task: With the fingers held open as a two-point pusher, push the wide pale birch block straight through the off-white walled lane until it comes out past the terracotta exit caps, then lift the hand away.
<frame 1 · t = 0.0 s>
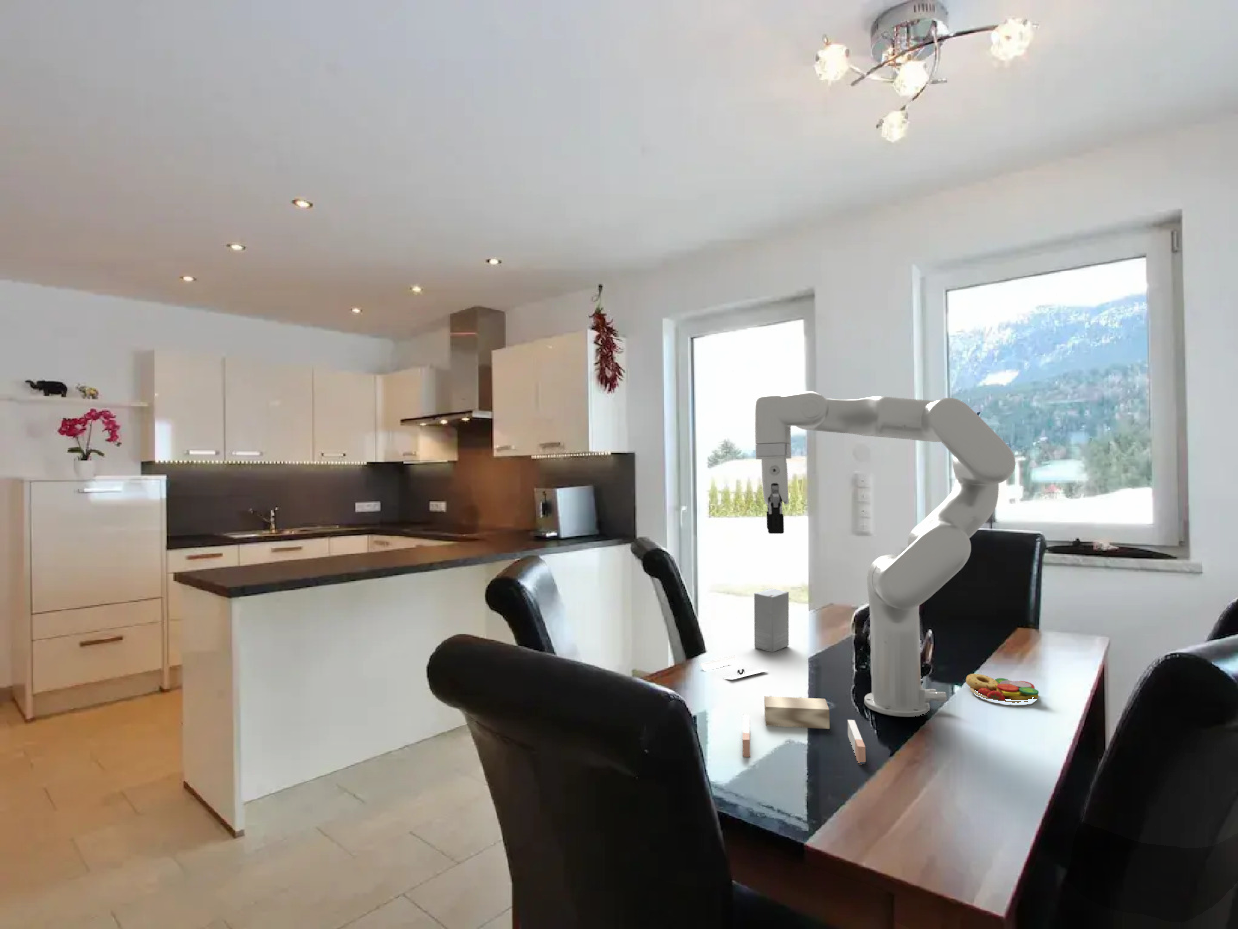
hand: (775, 531, 142), 37 cm above the table, fingers open, 9 cm apart
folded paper: (734, 674, 164), on the table
toy food set: (1004, 698, 142), on the table
walled lane: (800, 746, 119), on the table
skincare box: (772, 648, 184), on the table
birch block: (796, 723, 131), on the table
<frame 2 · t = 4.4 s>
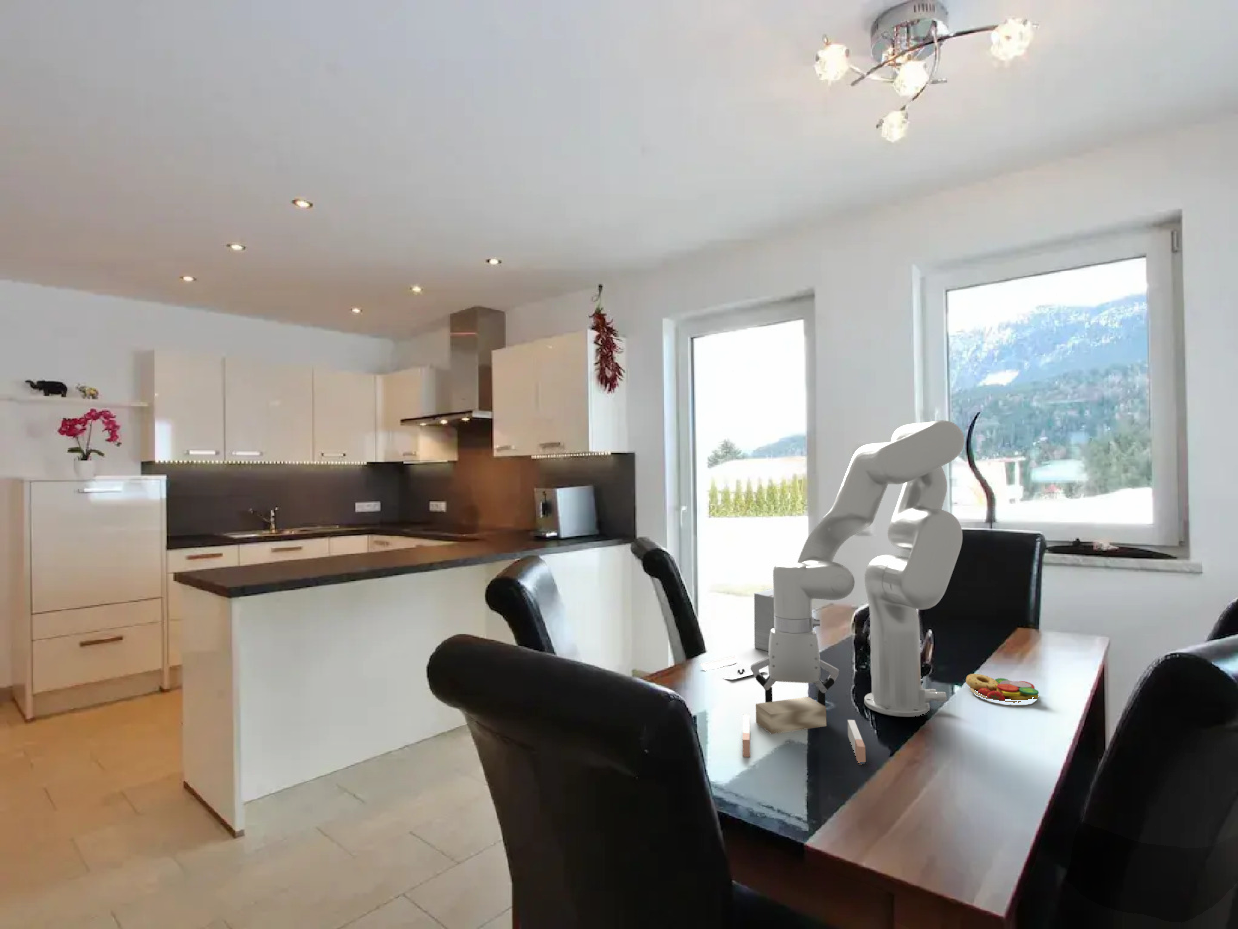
hand: (795, 709, 133), 2 cm above the table, fingers open, 9 cm apart
birch block: (790, 725, 129), on the table
everything else where it was.
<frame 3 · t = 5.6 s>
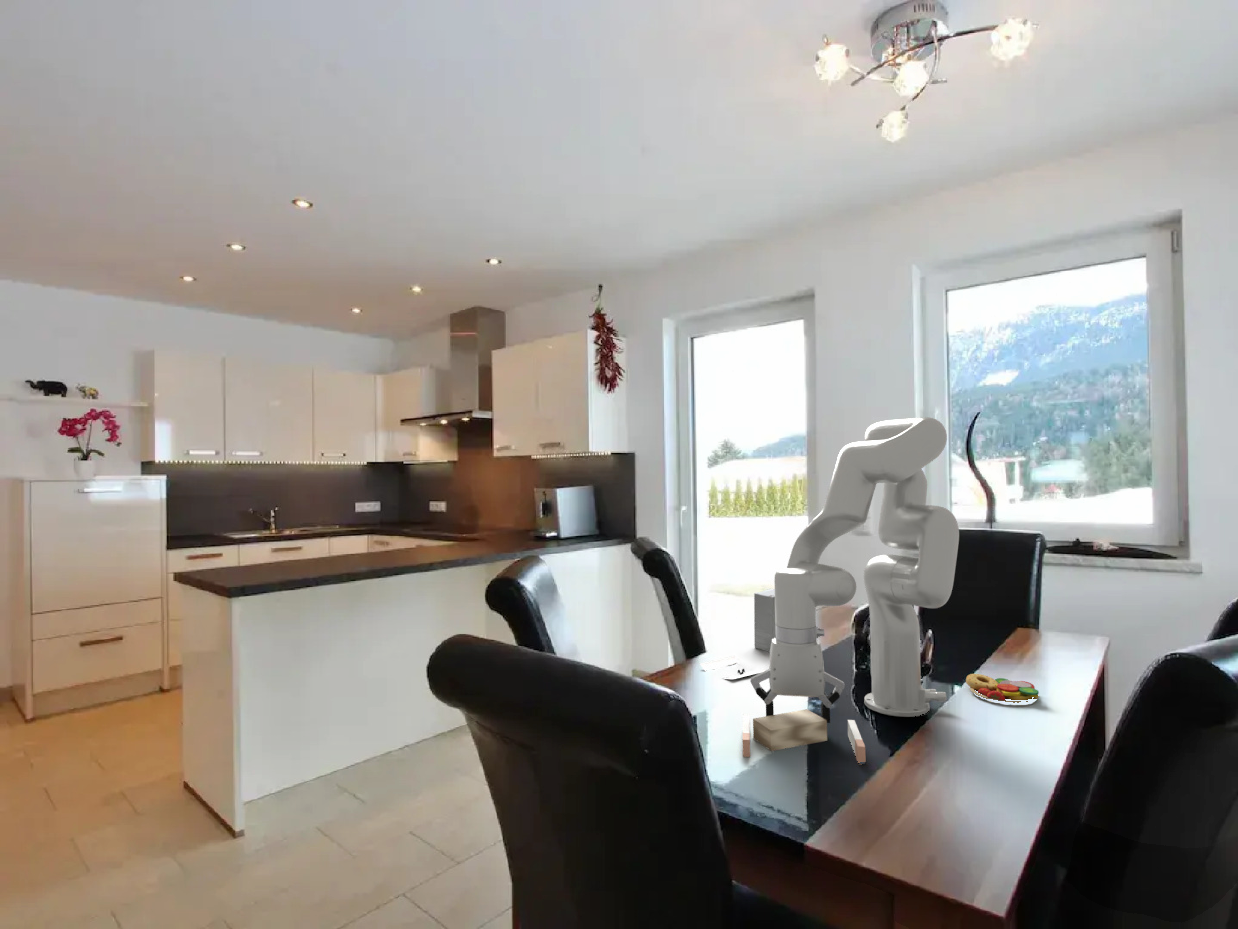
hand: (797, 724, 125), 2 cm above the table, fingers open, 9 cm apart
birch block: (790, 741, 122), on the table
everything else where it was.
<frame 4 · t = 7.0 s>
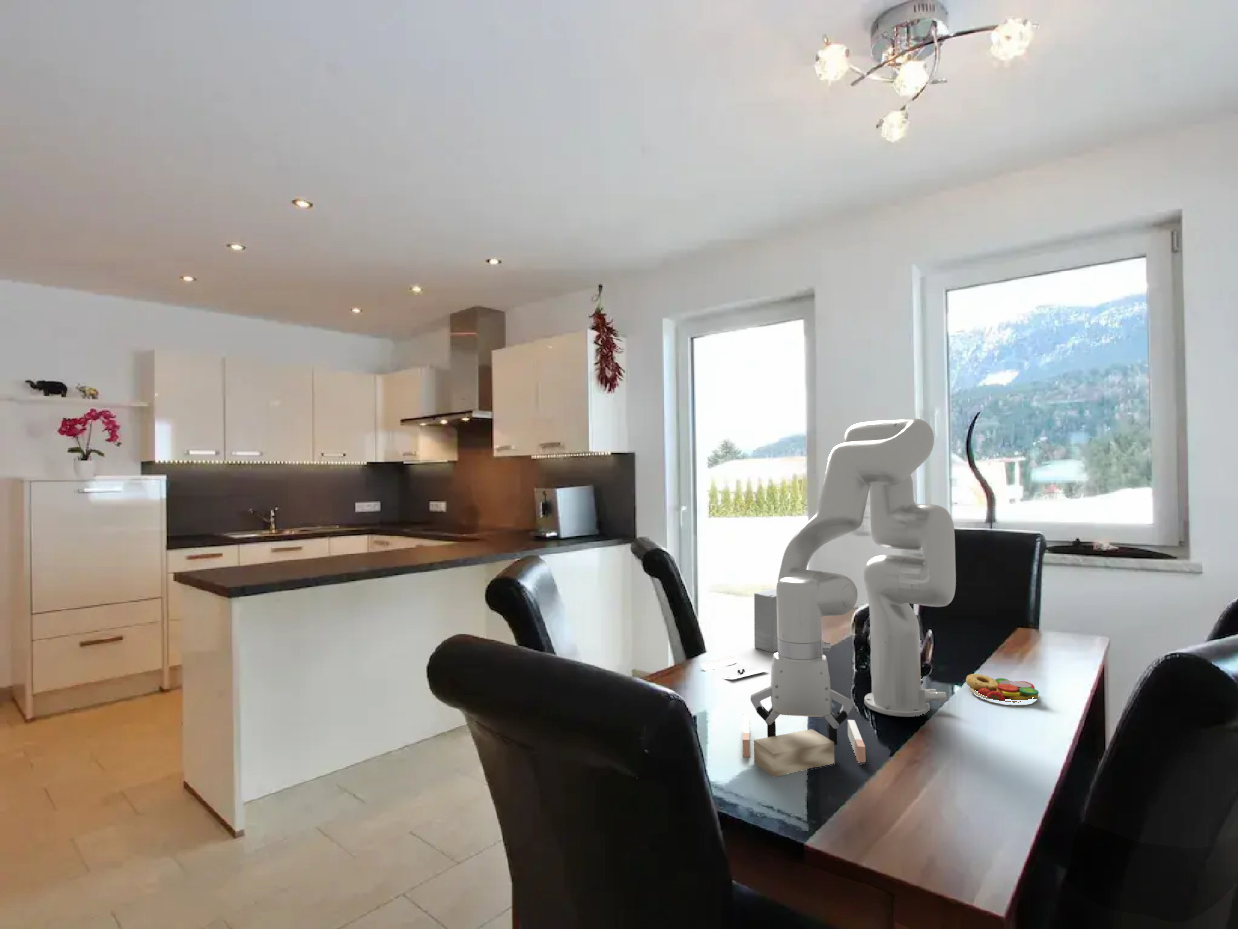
hand: (801, 746, 115), 2 cm above the table, fingers open, 9 cm apart
birch block: (794, 764, 112), on the table, touching gripper
everything else where it was.
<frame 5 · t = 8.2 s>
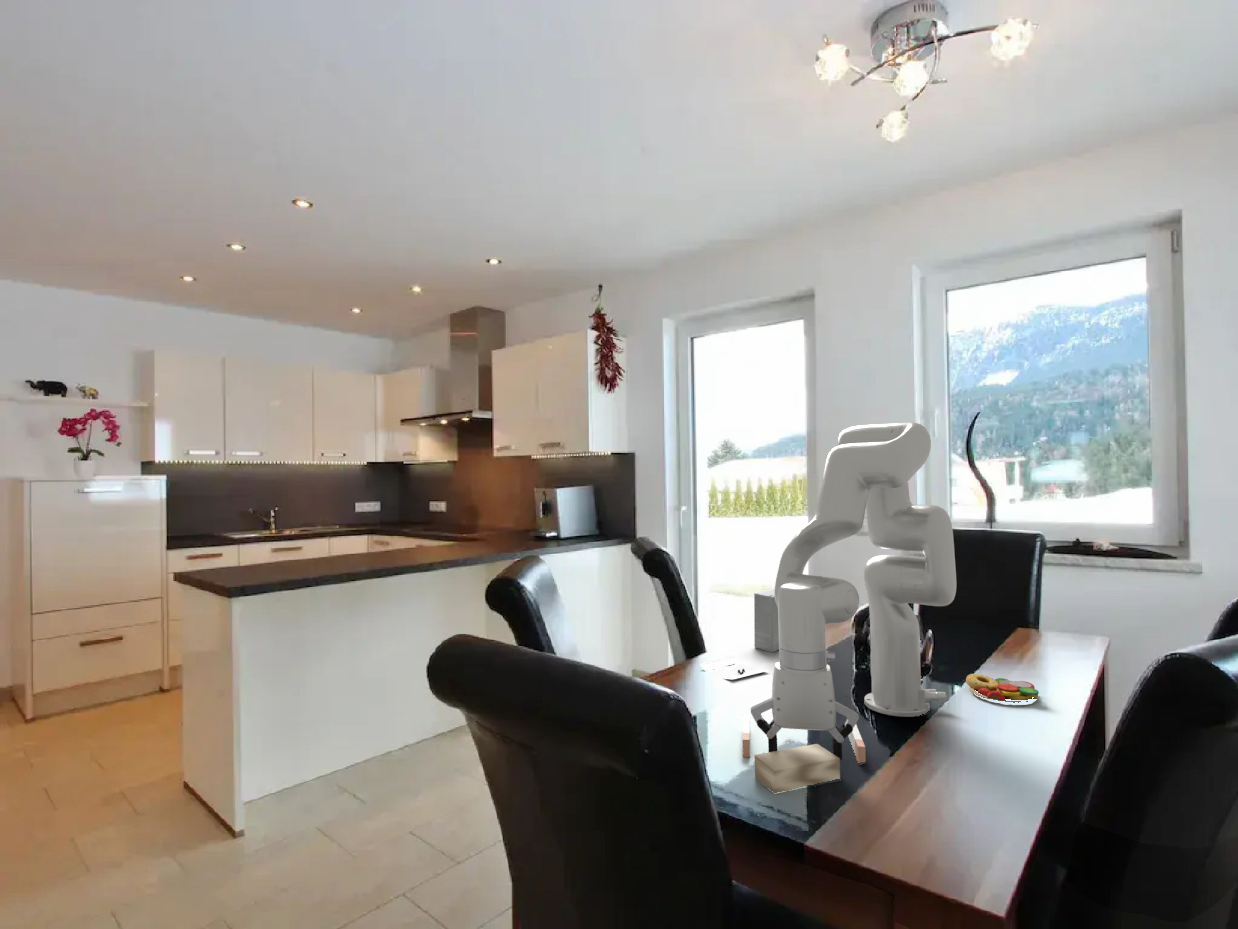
hand: (804, 761, 109), 2 cm above the table, fingers open, 9 cm apart
birch block: (797, 781, 106), on the table
everything else where it was.
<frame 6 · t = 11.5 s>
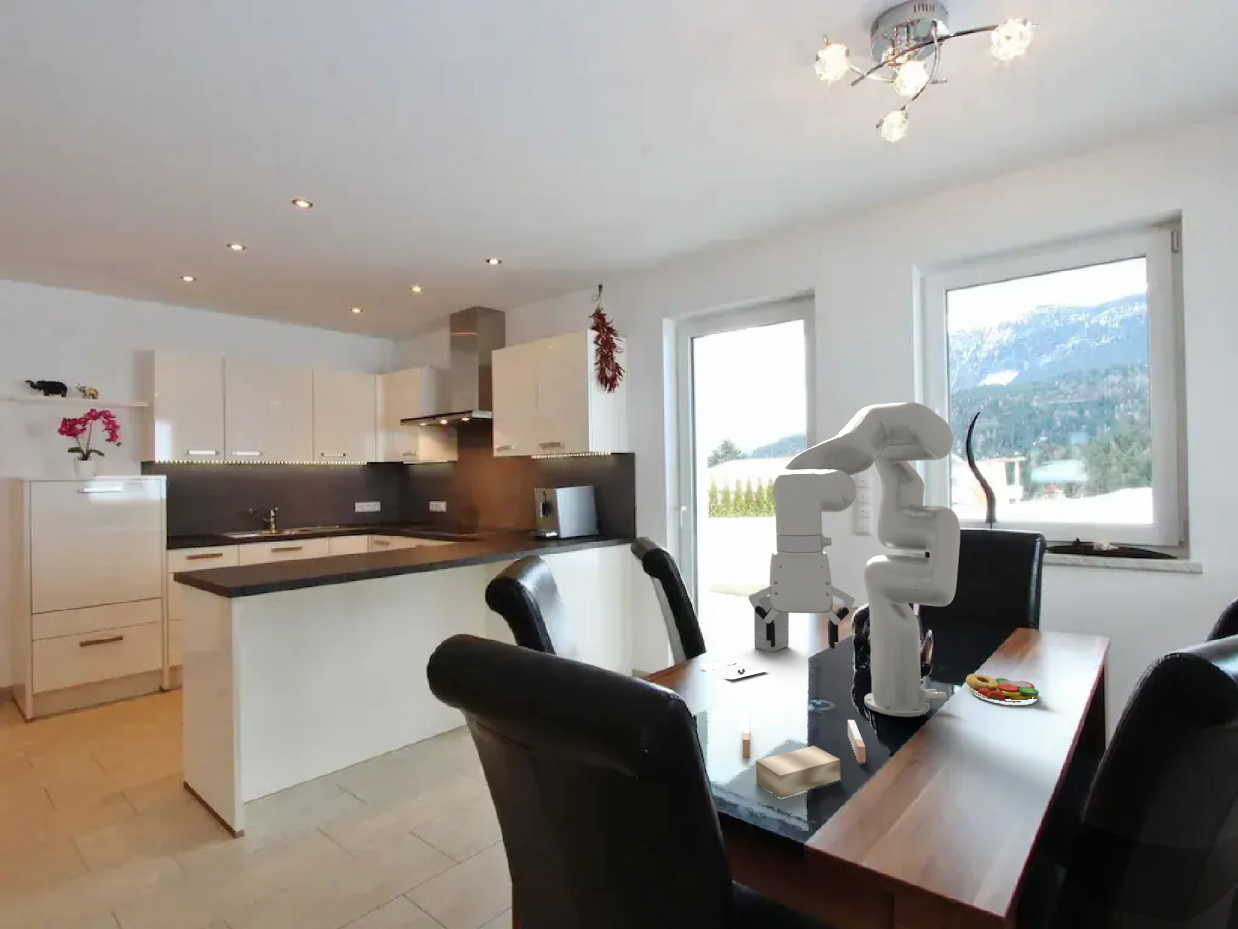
hand: (802, 645, 111), 20 cm above the table, fingers open, 9 cm apart
birch block: (798, 785, 105), on the table
everything else where it was.
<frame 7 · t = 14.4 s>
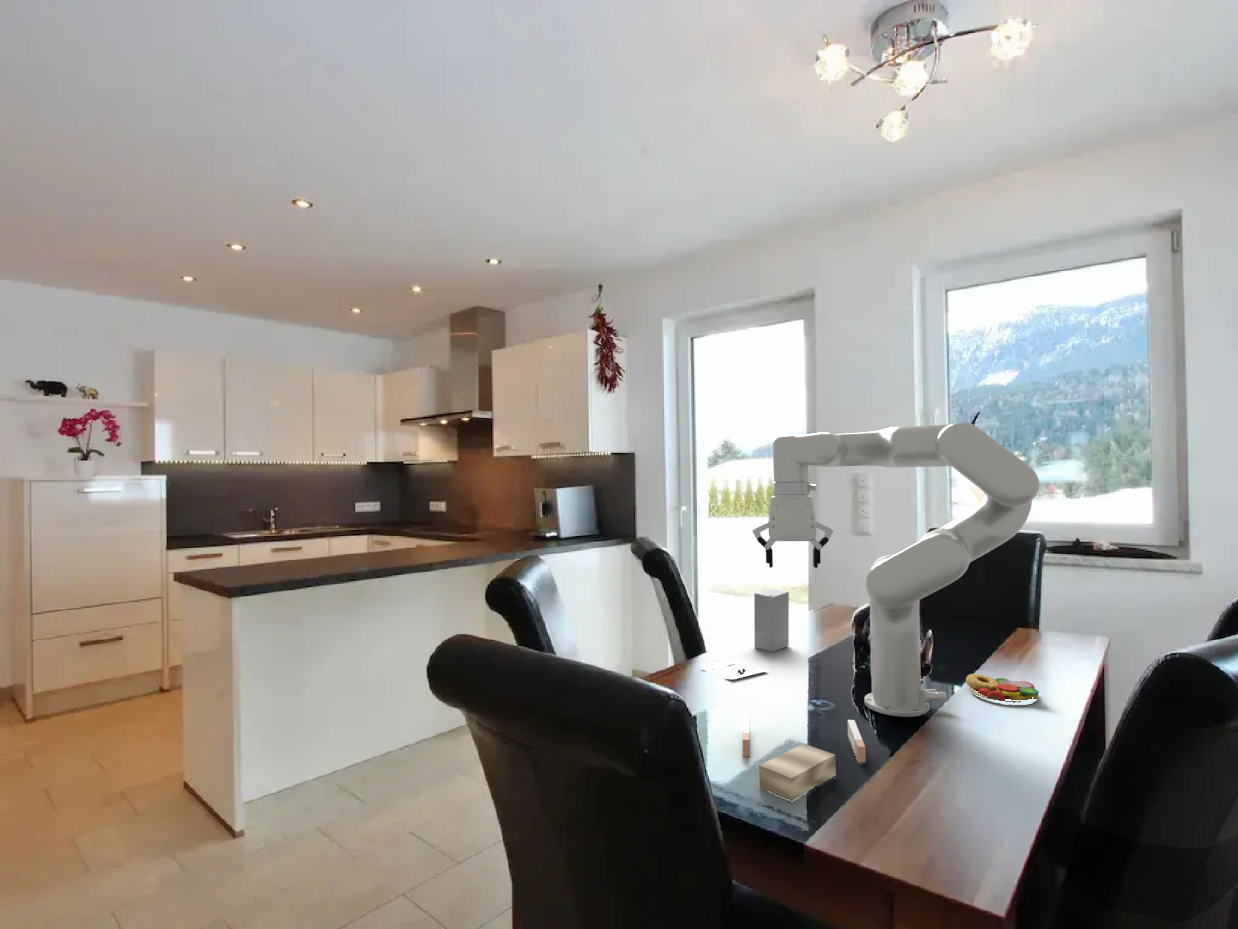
hand: (793, 566, 146), 28 cm above the table, fingers open, 9 cm apart
at the end: birch block inside the target area (2.4 cm from its centre), on the table; birch block tilted 0° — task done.
